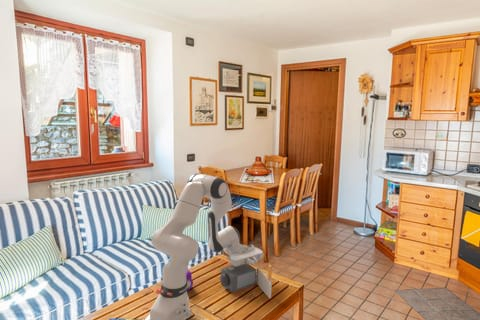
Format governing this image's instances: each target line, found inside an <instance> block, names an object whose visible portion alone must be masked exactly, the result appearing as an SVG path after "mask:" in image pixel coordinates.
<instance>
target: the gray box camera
mask: <svg viewBox="0 0 480 320" xmlns="http://www.w3.org/2000/svg"><path fill="white" fill-rule="evenodd" d="M220 271H221V272H220V276H219V278H220V279H219V280H220V281H219V282H220V284H221V285H222V287H224V288H225V289H227V290H228V291H229V292H230V293H235V292H238V291H241V290H244V289H247V288H249V287H252V286H255V285H257V284H256V276H257V268H255V267H254V266H253V265H252V264H249V263H246V264H242V265H239V266H233V265H232V264H231V265H229V266H224V267H221V269H220Z"/></svg>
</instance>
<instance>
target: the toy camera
mask: <svg viewBox="0 0 480 320" xmlns="http://www.w3.org/2000/svg"><path fill="white" fill-rule="evenodd" d="M192 274H193V273H192V272H191V271H190V270H189V269H187V273H186V280H187V292H188V291H189V290H190V289H192V288H193V286H194V281H193V276H192Z"/></svg>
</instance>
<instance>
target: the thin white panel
mask: <svg viewBox="0 0 480 320" xmlns="http://www.w3.org/2000/svg"><path fill="white" fill-rule="evenodd" d="M272 269H273V266H272V265H271V264H267V275H266V273H264V272H263V270H262V269H261V268H259V267H256V284H255V285H257V286H259V288H260V289H261V290H262V292H263V293H264V294H265V296H267V298H268V299H272V284H273V283H272V282H273V281H272V275H273V272H272V271H273V270H272Z"/></svg>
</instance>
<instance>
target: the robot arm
mask: <svg viewBox="0 0 480 320" xmlns="http://www.w3.org/2000/svg"><path fill="white" fill-rule="evenodd" d="M231 195H232V194H231V192H230V188H229V185H228V184H227V181H226V180H225V179H224V178H223V179H222V178H221V177H216V176H214V175H210V174H205V173H194V174H191V175H190V176H189V178H188V180H187V183H186V184H185V186H184V187H183V189H182V191H181V193H180V195H179V198H178V200H177V203H176V205H175V208H174V210H173V213H172V215H171V216H170V218H169V219H168V221H167V222H166V223H165V224H164V225H163V226H161V227H160V228H157V229H156V230H155V231H154V232H153V234H152V235H151V240H150V241H151V245H152V247H153V248H155V249H156V250H157V251H159V252H160V253H162V254H165V255H168V256H169V262H166V263H165V264H164V265H163V267H162V282H161V286H160V288H159V287H158V288H156V293H157V294H158V295H157V297H156V299H155V301H154V303H153V304H152V306H151V307H150V310H149V314H148V315H147V316H146V317H145V319H144V320H187V319H189V318H190V317H192V315H193V314H192V310H191V307H190V298H189V294H188V291H187V280H186V273H187V268H188V264H189V263H190V261H192V260H194V258H196V256H197V255H198V252H199V242H198V241H197V240H196V239H195V238H193V237H191V236H190V235H188V234H184V231H185V229H187V228H188V227H190V226H191V227H192V226H193V225H194V224H195V222H196V221H197V218H198V214H199V211H200V208H201V206H202V203H203V199H204V198H209V199H210V203H211V204H210V209H209V211H208V214H207V231H208V232H207V233H208V239H207V244H208V247H209V249H210V250H211V251H212V252H214V253H217V254H218V253H220V252H222V251H223V252H224V253H226V254H227V255H228V256H226V260H227V261H228V262H229V263H230V264H231V265H233V266H239V265H242V264H246V263H248V264H249V265H251V266H254V265H257V264H258V261H259V260H262V259H264V251H263V250H262V249H260V248H258V247H257V246H256V247H255V246H254V245H253V244H241V242H240V241H241V235H240V231H239V230H238V229H237V228H236V227H234V226H232V225H228V226H226V227H224V228H223V229H221V230H219V227H218V226H219V223H220V221H221V220H222V218H223V217H224V216H225V215H226V214H228V212H229V211H230V210H231V208H232V204H233V203H232V202H233V200H232V196H231Z"/></svg>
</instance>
